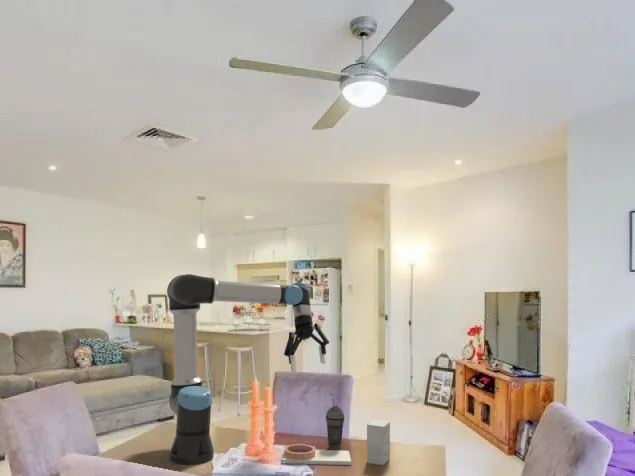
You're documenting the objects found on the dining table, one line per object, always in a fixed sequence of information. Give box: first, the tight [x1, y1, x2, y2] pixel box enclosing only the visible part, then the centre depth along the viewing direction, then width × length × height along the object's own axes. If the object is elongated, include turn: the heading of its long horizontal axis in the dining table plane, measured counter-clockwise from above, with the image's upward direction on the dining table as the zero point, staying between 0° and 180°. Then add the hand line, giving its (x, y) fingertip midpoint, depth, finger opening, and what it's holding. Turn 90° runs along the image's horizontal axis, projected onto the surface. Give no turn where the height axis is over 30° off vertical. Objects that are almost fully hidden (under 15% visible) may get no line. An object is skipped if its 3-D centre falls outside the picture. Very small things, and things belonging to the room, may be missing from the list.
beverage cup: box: [325, 393, 345, 451], centre depth 186 cm, size 7×7×20 cm
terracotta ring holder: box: [283, 443, 316, 460], centre depth 173 cm, size 11×11×2 cm
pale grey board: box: [281, 449, 352, 466], centre depth 173 cm, size 24×12×1 cm, turn 90°
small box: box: [366, 419, 391, 466], centre depth 173 cm, size 8×6×13 cm
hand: (308, 367), depth 193 cm, fingers open, 13 cm apart
